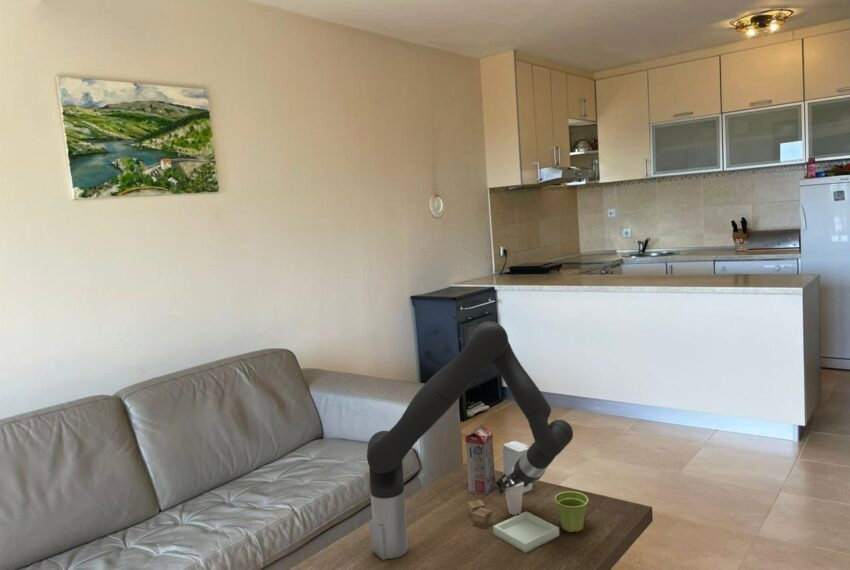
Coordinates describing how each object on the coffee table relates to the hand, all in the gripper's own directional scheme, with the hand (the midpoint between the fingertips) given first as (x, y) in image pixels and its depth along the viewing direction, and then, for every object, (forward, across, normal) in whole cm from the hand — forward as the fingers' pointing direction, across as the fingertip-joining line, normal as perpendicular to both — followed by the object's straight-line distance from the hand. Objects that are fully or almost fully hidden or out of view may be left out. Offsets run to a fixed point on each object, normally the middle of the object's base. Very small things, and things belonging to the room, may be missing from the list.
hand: (511, 487), depth 192 cm
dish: (-5, +5, +15) cm, 17 cm away
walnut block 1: (+8, +11, +3) cm, 14 cm away
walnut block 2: (+4, +12, +7) cm, 14 cm away
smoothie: (+5, 0, +6) cm, 8 cm away
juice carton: (+18, 0, -8) cm, 20 cm away
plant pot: (-7, -9, +18) cm, 21 cm away
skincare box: (+14, -10, -3) cm, 17 cm away
